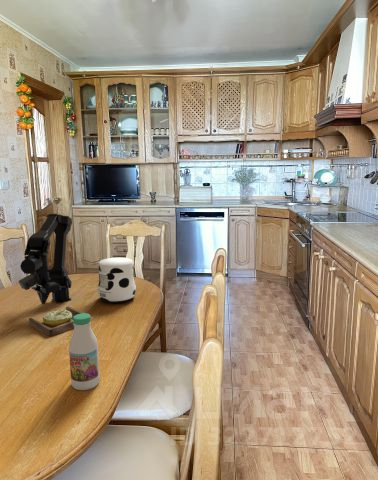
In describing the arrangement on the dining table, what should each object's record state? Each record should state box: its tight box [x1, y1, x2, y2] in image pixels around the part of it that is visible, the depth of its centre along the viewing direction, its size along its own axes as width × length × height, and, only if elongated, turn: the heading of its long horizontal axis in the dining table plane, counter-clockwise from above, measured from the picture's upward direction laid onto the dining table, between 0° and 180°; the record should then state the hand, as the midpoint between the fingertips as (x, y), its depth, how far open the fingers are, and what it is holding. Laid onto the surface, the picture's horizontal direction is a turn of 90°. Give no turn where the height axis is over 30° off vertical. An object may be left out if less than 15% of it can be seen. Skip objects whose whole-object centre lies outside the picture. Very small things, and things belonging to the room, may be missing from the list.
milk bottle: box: [68, 312, 101, 391], centre depth 100 cm, size 8×8×20 cm
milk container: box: [97, 257, 137, 304], centre depth 167 cm, size 17×17×18 cm
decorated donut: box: [42, 309, 73, 327], centre depth 144 cm, size 10×11×4 cm
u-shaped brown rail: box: [28, 305, 83, 338], centre depth 142 cm, size 17×16×2 cm
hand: (43, 304), depth 149 cm, fingers closed
